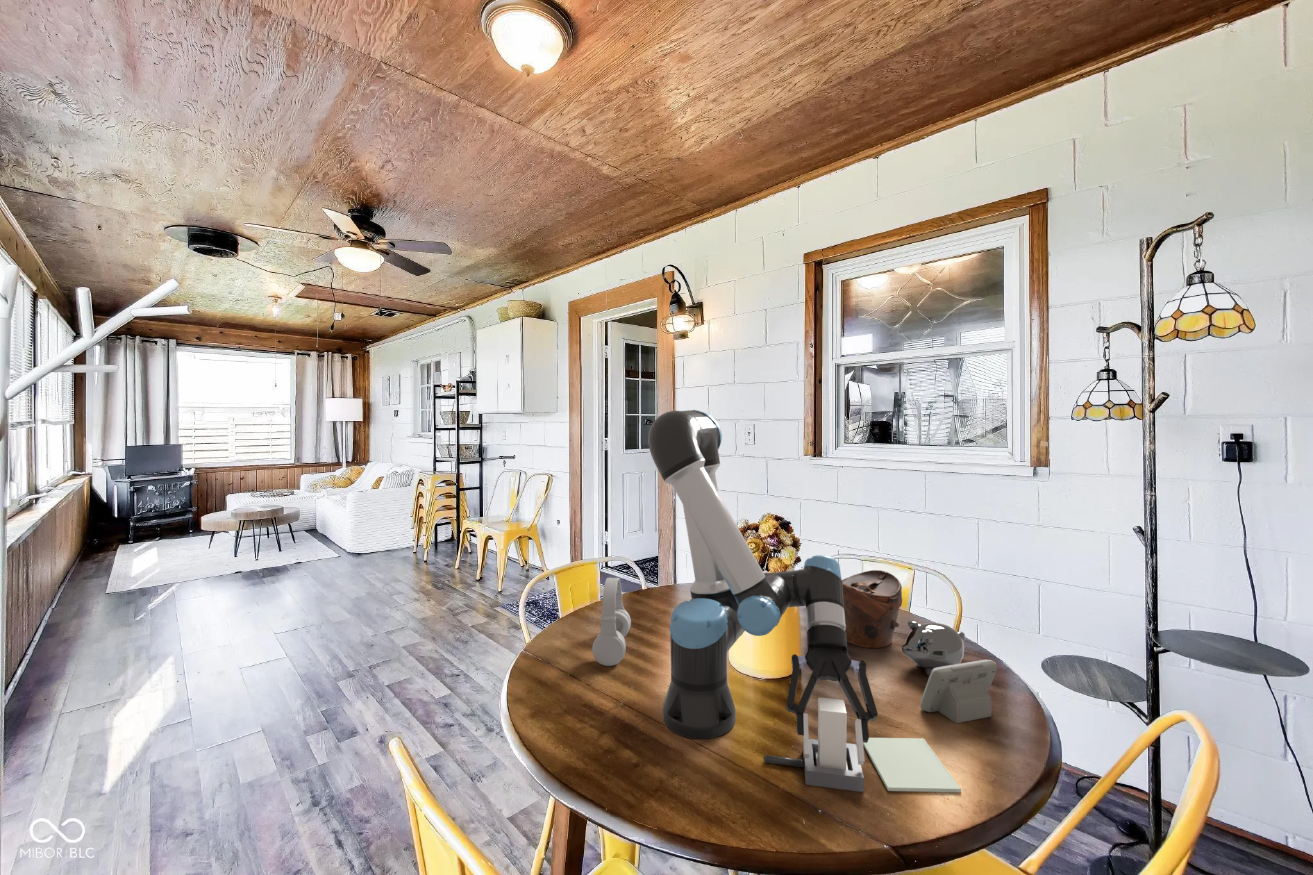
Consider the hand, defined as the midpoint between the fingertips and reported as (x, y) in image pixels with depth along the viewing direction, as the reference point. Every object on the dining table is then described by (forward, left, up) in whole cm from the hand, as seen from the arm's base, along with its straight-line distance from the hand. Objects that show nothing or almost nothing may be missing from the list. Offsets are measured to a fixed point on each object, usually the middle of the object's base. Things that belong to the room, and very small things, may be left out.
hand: (833, 759), depth 94 cm
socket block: (-3, +4, -4) cm, 6 cm away
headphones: (-44, +51, -4) cm, 68 cm away
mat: (+15, +5, -4) cm, 16 cm away
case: (+26, +59, -4) cm, 65 cm away
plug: (+1, +3, -4) cm, 5 cm away
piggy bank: (+36, +41, -4) cm, 55 cm away
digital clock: (+33, +24, -4) cm, 41 cm away
